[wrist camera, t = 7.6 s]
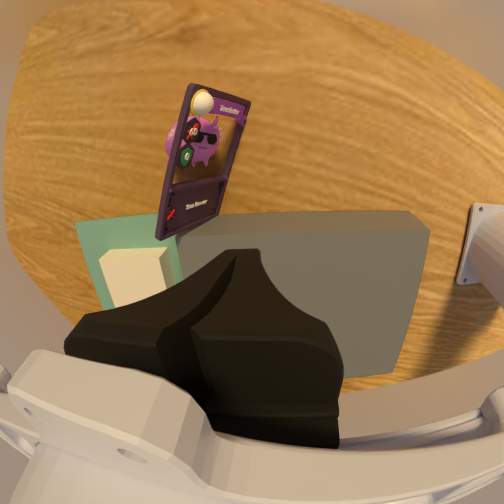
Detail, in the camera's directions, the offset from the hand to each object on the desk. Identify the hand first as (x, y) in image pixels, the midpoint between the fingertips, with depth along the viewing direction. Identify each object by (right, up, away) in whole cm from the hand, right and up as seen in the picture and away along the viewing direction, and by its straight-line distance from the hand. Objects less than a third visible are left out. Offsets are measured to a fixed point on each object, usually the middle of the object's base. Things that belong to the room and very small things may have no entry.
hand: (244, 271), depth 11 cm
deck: (+5, -3, +12) cm, 13 cm away
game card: (-3, +8, +8) cm, 12 cm away
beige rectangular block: (-9, -4, +12) cm, 16 cm away
